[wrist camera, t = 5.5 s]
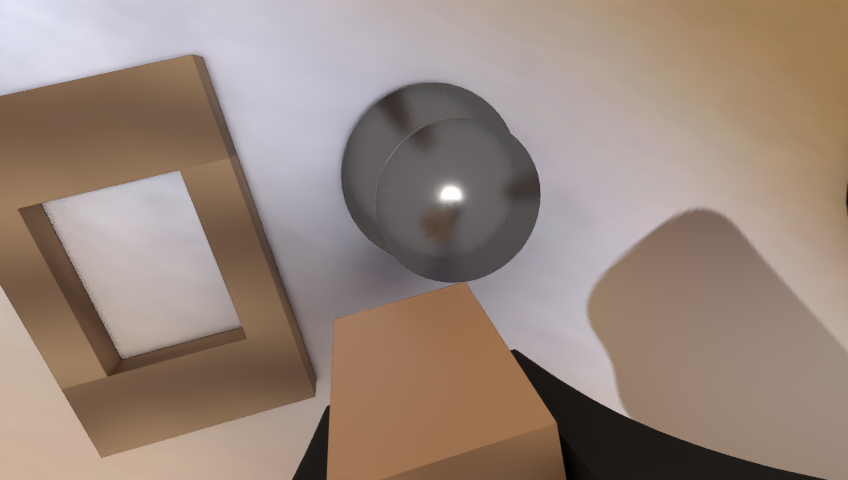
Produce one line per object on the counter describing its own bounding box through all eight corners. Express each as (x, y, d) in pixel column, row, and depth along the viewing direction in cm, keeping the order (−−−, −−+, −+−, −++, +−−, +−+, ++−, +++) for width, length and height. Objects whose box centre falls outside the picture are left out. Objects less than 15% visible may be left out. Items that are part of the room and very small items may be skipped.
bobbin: (520, 230, 20) (582, 278, 15) (366, 271, 20) (374, 336, 15) (495, 65, 18) (557, 54, 13) (319, 105, 18) (309, 112, 12)
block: (495, 418, 14) (590, 619, 8) (379, 454, 13) (403, 687, 8) (465, 281, 12) (557, 423, 7) (333, 319, 12) (326, 497, 7)
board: (316, 379, 21) (315, 396, 20) (114, 437, 20) (101, 457, 19) (202, 57, 16) (191, 54, 15) (-66, 115, 16) (-98, 117, 14)
